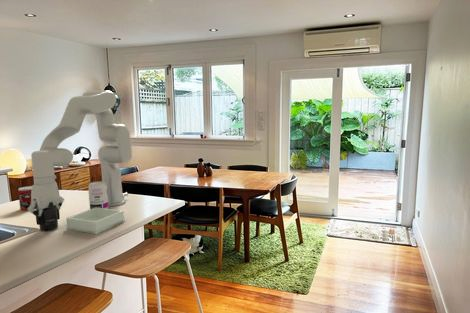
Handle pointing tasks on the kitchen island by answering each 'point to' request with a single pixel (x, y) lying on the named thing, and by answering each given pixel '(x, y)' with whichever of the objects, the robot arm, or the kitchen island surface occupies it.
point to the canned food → (25, 197)
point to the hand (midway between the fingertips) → (48, 221)
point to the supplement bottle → (49, 218)
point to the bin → (95, 220)
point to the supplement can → (98, 195)
